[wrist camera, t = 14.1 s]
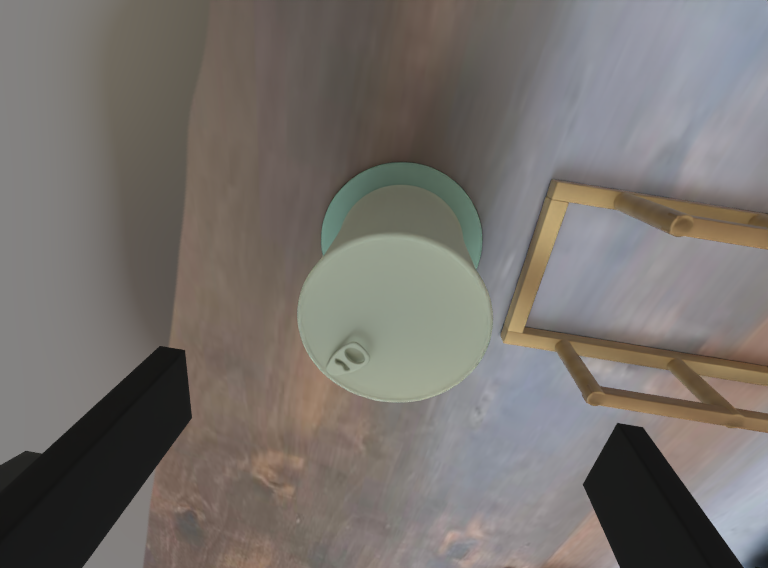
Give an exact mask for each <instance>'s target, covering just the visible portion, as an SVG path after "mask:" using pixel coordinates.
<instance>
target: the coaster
mask: <svg viewBox="0 0 768 568" xmlns="http://www.w3.org/2000/svg"><path fill="white" fill-rule="evenodd" d="M391 185H410V186H416V187H420V188H423V189H425V190H428V191H430V192H432V193H434V194H435V195H437V196H438V197H440V198H441V199H442V200H443V201H444V202H445V203H447V205H448V206H449V207H450V208H451V209H452V211H453V212H454V214H455V215H456V217H457V219H458V221H459V223H460V226H461V229H462V233H463V240H464V243H465V245H466V248H467V250H468V252H469V255H470V257H471V259H472V262H473V264H474V266H475V269H477V266H478V263H479V260H480V256H481V251H482V228H481V224H480V219H479V216H478V214H477V211H476V209H475V207H474V205H473V203H472V201H471V199H470V198H469V197H468V195H467V194H466V193H465V191H464V190H463V189H462V188H461V187H460V186H459V185H458V184H457V183H456V182H455V181H454V180H452V179H451V178H450V177H448V176H447V175H445V174H444V173H442V172H440V171H438V170H436V169H434V168H431V167H429V166H426V165H422V164H417V163H410V162H392V163H386V164H381V165H378V166H375V167H372V168H369V169H367V170H365V171H363V172H361V173H359V174H358V175H357V176H355V177H354V178H352V179H351V180H350V181H349V182H347V183H346V184H345V185H344V186H343V187H342V188H341V189H340V191H339V192H338V193H337V194H336V195H335V197H334V199H333V200H332V202H331V203H330V205H329V207H328V210H327V212H326V214H325V218H324V221H323V225H322V232H321V246H322V254H323V256H324V254H325V253H326V251H327V250H328V248H329V247H330V245H331V244H332V242H333V241H334V239H335V238H336V236H337V235H338V233H339V231H340V230H341V227H342V224H343V221H344V219H345V217H346V215H347V214H348V212H349V211H350V210H351V208H352V207H353V206H354V205H355V204H356V203H357V202H358V201H359V200H360V199H361V198H362V197H364V196H365V195H367V194H369V193H370V192H372V191H374V190H377V189H379V188H382V187H386V186H391Z"/></svg>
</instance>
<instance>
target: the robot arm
mask: <svg viewBox="0 0 768 568" xmlns="http://www.w3.org/2000/svg"><path fill="white" fill-rule="evenodd" d="M191 418H192V414H191V404H190V395H189V385H188V375H187V366H186V356H185V350H181V349H175V348H169V347H163V346H159V348H157V349H156V350H155V351H154V352H153V353H152V354H151V355H150V356H149V357H147V358H146V359H145V360H144V361H143V362H142V363H141V364H140V365H139V366H138V367H136V368H135V369H134V370H133V371H132V372H131V373H130V374H129V375H128V376H127V377H126V378H124V379H123V380H122V381H121V382H120V383H119V384H118V385H117V386H116V387H115V388H114V389H112V390H111V391H110V392H109V393H108V394H107V395H106V396H105V397H104V398H103V399H102V400H100V401H99V402H98V403H97V404H96V405H95V406H94V407H93V408H92V409H91V410H90V411H88V412H87V413H86V414H85V415H84V416H83V417H82V418H81V419H80V420H79V421H78V422H76V423H75V424H74V425H73V426H72V427H71V428H70V429H69V430H68V431H67V432H66V433H64V434H63V435H62V436H61V437H60V438H59V439H58V440H57V441H56V442H55V443H53V444H52V445H51V446H50V447H49V448H48V449H47V450H46V451H45V452H44V453H43V454H41V453H35V452H29V451H25V452H23V453H21V454H19V455H18V456H16V457H14V458H12V459H11V460H9V461H7V462H5V463H4V464H2V465H0V568H82V567H83V566H84V565H85V563H86V562H87V561H88V559H89V558H90V556H91V555H92V554H93V552H94V551H95V550H96V548H97V547H98V545H99V544H100V543H101V541H102V540H103V539H104V537H105V536H106V535H107V533H108V532H109V530H110V529H111V528H112V526H113V525H114V524H115V522H116V521H117V520H118V518H119V517H120V515H121V514H122V513H123V511H124V510H125V508H126V507H127V506H128V505H129V503H130V502H131V500H132V499H133V498H134V496H135V495H136V494H137V492H138V491H139V489H140V488H141V487H142V485H143V484H144V483H145V481H146V480H147V478H148V477H149V476H150V474H151V473H152V472H153V470H154V469H155V468H156V466H157V465H158V464H159V462H160V461H161V459H162V458H163V457H164V455H165V454H166V453H167V451H168V450H169V448H170V447H171V446H172V444H173V443H174V442H175V440H176V439H177V438H178V436H179V435H180V433H181V432H182V431H183V429H184V428H185V427H186V425H187V424H188V423H189V421H190V420H191ZM583 486H584V488H585V490H586V492H587V495H588V497H589V499H590V501H591V504H592V506H593V508H594V510H595V513H596V515H597V517H598V519H599V521H600V524H601V526H602V528H603V530H604V533H605V535H606V537H607V539H608V542H609V544H610V546H611V548H612V551H613V553H614V555H615V557H616V559H617V562H618V564H619V566H620V568H744V567H743V566H742V565H741V563H740V562H739V561H738V559H737V558H736V556H735V555H734V554H733V552H732V551H731V549H730V548H729V547H728V545H727V544H726V542H725V541H724V540H723V538H722V537H721V535H720V534H719V533H718V531H717V530H716V528H715V527H714V526H713V524H712V523H711V521H710V520H709V519H708V517H707V516H706V515H705V513H704V512H703V510H702V509H701V508H700V506H699V505H698V503H697V502H696V501H695V499H694V498H693V496H692V495H691V494H690V492H689V491H688V489H687V488H686V487H685V485H684V484H683V482H682V481H681V480H680V478H679V477H678V476H677V474H676V473H675V471H674V470H673V469H672V467H671V466H670V464H669V463H668V462H667V460H666V459H665V457H664V456H663V455H662V453H661V452H660V450H659V449H658V448H657V446H656V445H655V443H654V442H653V441H652V439H651V438H650V437H649V435H648V434H647V432H646V431H645V430H644V428H643V427H638V426H632V425H626V424H620V423H617V425H616V426H615V428H614V430H613V432H612V434H611V435H610V437H609V439H608V441H607V442H606V444H605V446H604V448H603V450H602V451H601V453H600V455H599V457H598V458H597V460H596V462H595V464H594V466H593V467H592V469H591V471H590V473H589V474H588V476H587V478H586V480H585V482H584V483H583Z"/></svg>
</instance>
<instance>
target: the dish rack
mask: <svg viewBox="0 0 768 568" xmlns="http://www.w3.org/2000/svg"><path fill="white" fill-rule="evenodd" d="M569 202H571V203H577V204H583V205H589V206H595V207H602V208H608V209H614V210H619V211H621V212H623V213H625V214H627V215H629V216H632V217H634V218H636V219H638V220H640V221H643V222H645V223H647V224H649V225H651V226H653V227H656V228H658V229H660V230H662V231H664V232H666V233H669V234H671V235H673V236H676V237H681V236H687V237H693V238H699V239H706V240H712V241H718V242H724V243H730V244H737V245H743V246H749V247H755V248H761V249H767V250H768V214H766V213H760V212H754V211H748V210H742V209H735V208H729V207H723V206H717V205H711V204H704V203H698V202H692V201H686V200H680V199H673V198H667V197H661V196H655V195H649V194H643V193H636V192H630V191H624V190H618V189H612V188H605V187H599V186H593V185H587V184H581V183H574V182H568V181H562V180H556V179H552V180H551V183H550V186H549V189H548V192H547V196H546V198H545V201H544V204H543V207H542V210H541V213H540V216H539V219H538V222H537V225H536V228H535V231H534V234H533V237H532V240H531V243H530V246H529V250H528V253H527V256H526V259H525V262H524V265H523V268H522V271H521V274H520V277H519V280H518V283H517V286H516V289H515V292H514V295H513V298H512V301H511V304H510V308H509V311H508V314H507V317H506V320H505V324H504V326H503V329H502V332H501V338H502V340H503V343H506V344H512V345H518V346H524V347H530V348H536V349H542V350H549V351H555V352H557V353H558V355H559V356H560V358H561V360H562V361H563V363H564V365H565V366H566V368H567V370H568V371H569V373H570V374H571V376H572V378H573V379H574V381H575V383H576V384H577V386H578V388H579V389H580V391H581V392H582V396H583V398H584V400H585V401H586V403H588V404H590V405H592V406H598V405H600V406H606V407H612V408H618V409H625V410H631V411H637V412H643V413H649V414H655V415H661V416H667V417H674V418H680V419H686V420H692V421H698V422H704V423H710V424H716V425H722V426H726V427H728V428H741V429H747V430H753V431H759V432H765V433H768V414H767V413H761V412H755V411H748V410H742V409H736V408H734V407H733V406H732V405H731V404H730V403H729V402H728V401H727V400H725V399H724V398H723V397H722V396H721V395H720V394H719V393H718V392H717V391H715V390H714V389H713V388H712V387H711V386H710V385H709V384H708V383H707V382H706V381H704V380H703V379H702V378H701V377H700V376H699V375H702V376H708V377H714V378H720V379H726V380H733V381H739V382H745V383H751V384H757V385H763V386H768V366H761V365H755V364H749V363H743V362H737V361H731V360H725V359H718V358H712V357H706V356H700V355H694V354H688V353H682V352H675V351H670V350H663V349H657V348H651V347H645V346H639V345H632V344H626V343H620V342H614V341H608V340H602V339H596V338H589V337H583V336H577V335H571V334H565V333H559V332H553V331H546V330H540V329H534V328H528V327H525V324H526V322H527V319H528V316H529V313H530V310H531V308H532V305H533V302H534V299H535V296H536V293H537V291H538V288H539V285H540V282H541V279H542V277H543V274H544V271H545V268H546V265H547V263H548V260H549V257H550V254H551V251H552V249H553V246H554V243H555V240H556V237H557V234H558V232H559V229H560V226H561V223H562V220H563V218H564V215H565V212H566V209H567V206H568V204H569ZM579 356H585V357H591V358H598V359H604V360H610V361H616V362H622V363H628V364H634V365H641V366H647V367H653V368H659V369H665V370H669V371H670V372H671V373H672V374H673V375H674V376H675V377H676V378H677V379H678V380H679V381H680V382H681V383H682V384H683V385H684V386H685V387H686V388H687V389H688V390H689V391H690V392H691V393H692V394H693V395H695V396H696V397H697V398H698V399H699V400H700V401H701V402H702V403H699V402H693V401H687V400H681V399H675V398H669V397H663V396H657V395H650V394H644V393H638V392H632V391H626V390H620V389H614V388H608V387H602V386H599V384H598V383H597V381H596V380H595V378H594V377H593V376H592V374H591V373H590V371H589V370H588V368H587V367H586V365H585V364H584V363H583V361H582V360H581V358H580V357H579Z"/></svg>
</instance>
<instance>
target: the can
mask: <svg viewBox="0 0 768 568" xmlns="http://www.w3.org/2000/svg"><path fill="white" fill-rule="evenodd" d="M297 321H298V327H299V332H300V336H301V339H302V342H303V345H304V347H305V349H306V351H307V353H308V354H309V356H310V358H311V359H312V361H313V362H314V363H315V364H316V366H317V367H318V368H319V369H320V370H321V371H322V373H324V374H325V375H326V376H327V377H328V378H329V379H331V380H332V381H333V382H335V383H336V384H337V385H339V386H341V387H342V388H344V389H346V390H348V391H350V392H352V393H354V394H356V395H359V396H362V397H365V398H368V399H372V400H376V401H383V402H412V401H419V400H423V399H427V398H430V397H434V396H436V395H439V394H441V393H443V392H446V391H447V390H449V389H451V388H453V387H454V386H456V385H457V384H459V383H460V382H461V381H462V380H464V379H465V378H466V377H467V376H468V375H469V374H470V373H471V372H472V371H473V370H474V369H475V368H476V366H477V365H478V364H479V362H480V361H481V359H482V358H483V356H484V354H485V352H486V350H487V347H488V344H489V342H490V338H491V333H492V326H493V311H492V305H491V300H490V296H489V294H488V291H487V288H486V286H485V284H484V282H483V280H482V279H481V277H480V275H479V274H478V272H477V271H476V269H475V266H474V264H473V262H472V259H471V257H470V255H469V252H468V250H467V248H466V245H465V243H464V240H463V233H462V229H461V226H460V223H459V221H458V219H457V217H456V215H455V214H454V212H453V211H452V209H451V208H450V207H449V206H448V205H447V203H445V202H444V201H443V200H442V199H441V198H440V197H438V196H437V195H435V194H434V193H432V192H430V191H428V190H425V189H423V188H420V187H416V186H410V185H391V186H386V187H382V188H379V189H377V190H374V191H372V192H370V193H369V194H367V195H365V196H364V197H362V198H361V199H360V200H359V201H358V202H357V203H356V204H355V205H354V206H353V207H352V208H351V210H350V211H349V212H348V214H347V215H346V217H345V219H344V221H343V224H342V227H341V230H340V231H339V233H338V235H337V236H336V238H335V239H334V241H333V242H332V244H331V245H330V247H329V248H328V250H327V251H326V253H325V254H324V256H323V257H322V258H321V259H320V260H319V261H318V263H317V264H316V265H315V266H314V267H313V269H312V270H311V272H310V273H309V275H308V277H307V278H306V280H305V283H304V285H303V287H302V290H301V293H300V296H299V301H298V310H297Z"/></svg>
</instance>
